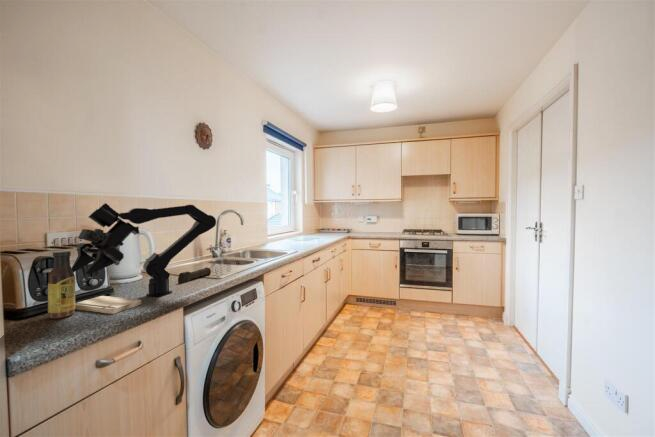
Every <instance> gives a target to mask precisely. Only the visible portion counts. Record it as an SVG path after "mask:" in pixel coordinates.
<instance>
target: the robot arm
mask: <svg viewBox="0 0 655 437" xmlns="http://www.w3.org/2000/svg"><path fill="white" fill-rule="evenodd" d="M185 215H188V216H189V217H190V218H192V219H193V221H195V222H194V223H193V224H192V226H191V228H190V229H189V230H188V231H186V232H185V233H184V234H183V235H181V236H180V237H179V238H178V239H177V240H175V241H174V242H173V243H171V245H169V246H168V247H167V248H166V249H165V250H164V251H162V252H161V253H157V252H153V253H152V254H151V255H150V256H149V257H148V258H145V262H144V263H143V266H142V268H143V271H144V273H146V275H147V276H149V277H150V279H149V280H148V293H146V294H145V295H146V296H148V297H149V296H150V297H162V296H165V295H168V294H171V293H173V290H170V272H168V271H167V270H166V269H167V267H168V266H169V264H170V262H171V260H172V259H174V258H175V257H176V256H177V255H178V254H179V253H181V252H182V251H183V250H184V249H185V248H186V247H188V245H190V244H191V243H192V242H193V241H195V240H196V239H197V238H199V236H201V235H203V234H205V233H207V232H208V231H210V230H212V229H213V228H214V227H215V226H217V220H216V218H215V217H214V215H212V214H207V213H206V212H204V211H202V210H201V209H199V208H198V207H196V206H195V205H194V204H186V205H177V206H169V207H160V208H145V207H143V208H141V207H140V208H139V207H135V208H134V207H133V208H131V209H129V210H128V211H126V212H120V213H119V212H117V211H116V210H114V209H113V208H112V207H111V206H110V205H109V204H108V203H107V202H106V203H103V204H102V205H101V206H100V207H99V208H98V209H97V208H96V209H95V210H94V211H93V212H91V213H90V214H89V215H88V216H87V217H88V218H89V219H91V221H93V222H94V223H96V224H98V225H99V226H100V227H102V228H105V227H108V228H110V227H111V228H110V229H109V230H107V232H104V229H100V228H95V229H94V230H93V229H85V228H81V231H80V233H79V235H78V237H77V239H78V240H84V241H87V242H81V243H79V244H78V245H77V246H76V247H75V248H76V251H77V256H76V259H75V261H74V263H73V264H72V267H71V268H72V271H73V273H75V272H77V271H78V270H81V269H82V268H84V267H86V266H88V265H89V264H90V263H91V265H90V266H89V267H88V268H87V270H86V271H85V275H86V276H89V275H92V274H94V273H96V272H98V271H100V270H103V269H104V268H107V267H110V266H111V265H114V264H117V263H120V262H121V261H122V260H123V259H124V257H125V256H124V255H125V254H124V253H123V252H122V251H121V250H119V249H118V247H120V246H121V247H123V245H124V244H125V243H124V241H125V240H126V239H127V238H128V237H129V236H130V235H131V234H133V235H134V236H136V235H139V234H140V230H139V226H134V225H133V224H136V225H139V224H144V223H147V222H151V221H153V220H157V219H163V218H171V217H176V216H177V217H178V216H185ZM124 220H127V222H126V221H124ZM114 223H115V224H114ZM131 223H132V224H131Z"/></svg>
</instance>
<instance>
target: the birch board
mask: <svg viewBox="0 0 655 437" xmlns="http://www.w3.org/2000/svg"><path fill="white" fill-rule="evenodd" d="M140 305H142V299H139V298H138V299H136V298H128V297H127V298H125V297H118V296H109V295H108V296H107V295H100V296H95V297H93V298H89V299H85V300H81V301H78V302H75V310H80V311H88V312H96V313H102V314H112V315H114V314H117V313H121V312H123V311H126V310H129V309H132V308H134V307H137V306H140Z"/></svg>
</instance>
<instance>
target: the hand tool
mask: <svg viewBox="0 0 655 437" xmlns="http://www.w3.org/2000/svg"><path fill="white" fill-rule="evenodd" d="M211 270H212V269H211V268H210V267H208V266H207V267H204V268H201V269H197V270H193V271H182V272H180V273H179V275H178V278H177V283H178V284H182V283H183V284H184V283H187V281H188V282H190V281H191V280H193V279H196V278H201V277H204V275H205V276H209V275H208V274H210V275H211V273H212V271H211ZM200 276H201V277H200Z"/></svg>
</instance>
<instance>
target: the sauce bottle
mask: <svg viewBox="0 0 655 437" xmlns="http://www.w3.org/2000/svg"><path fill="white" fill-rule="evenodd" d="M52 257H53V264H52V265H53V268H52V269H51V270H50V272H49V273H48V283H47V313H48V318H49V319H50V320H51V319H52V320H53V319H62V318H67V317H70V316H72V315H74V313H75V312H76V309H75V303H76V275H75V272H73V271H72V267H71V251H70V250H61V251H59V250H58V251H53V252H52Z"/></svg>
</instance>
